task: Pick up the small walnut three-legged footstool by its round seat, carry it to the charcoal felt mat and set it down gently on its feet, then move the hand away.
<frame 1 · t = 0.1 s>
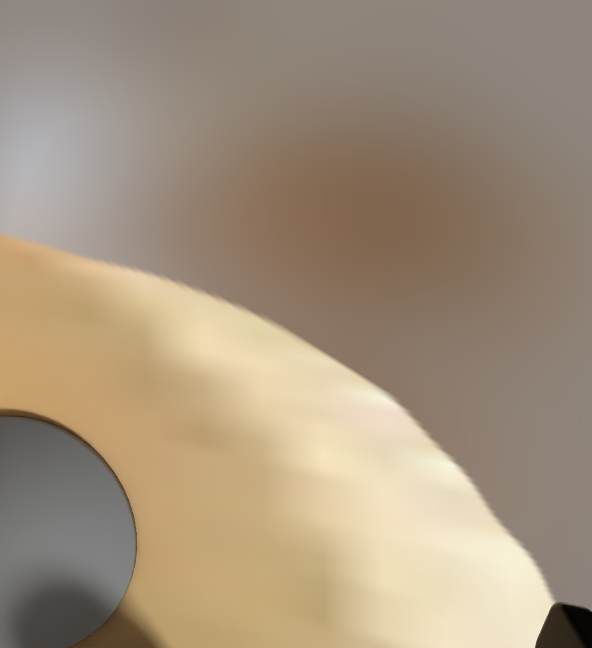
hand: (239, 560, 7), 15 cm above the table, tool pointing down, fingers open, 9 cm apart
felt mat: (18, 535, 25), on the table
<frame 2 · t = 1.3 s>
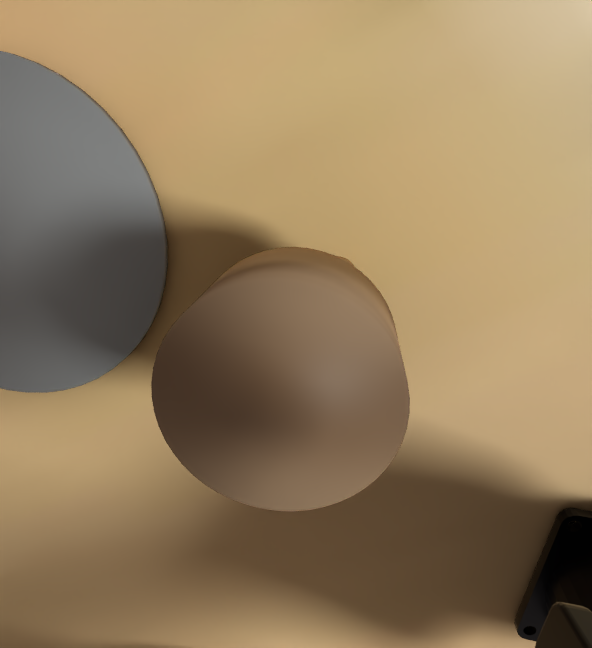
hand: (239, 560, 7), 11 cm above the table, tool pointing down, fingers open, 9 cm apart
felt mat: (4, 237, 18), on the table
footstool: (303, 314, 18), on the table
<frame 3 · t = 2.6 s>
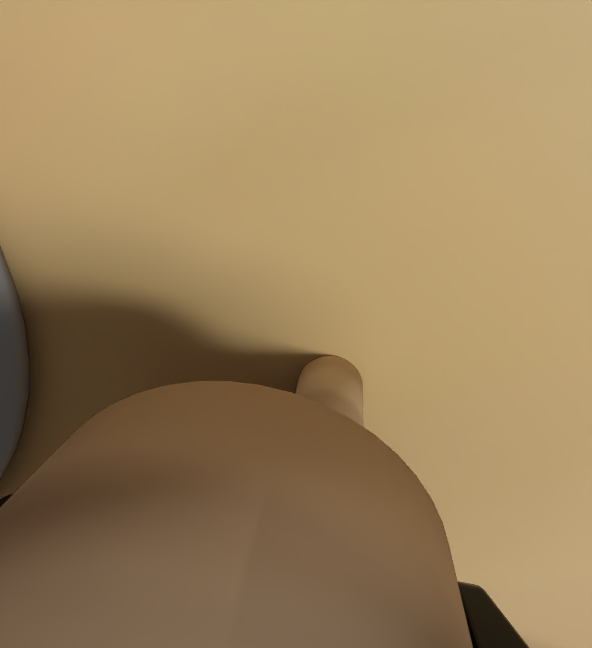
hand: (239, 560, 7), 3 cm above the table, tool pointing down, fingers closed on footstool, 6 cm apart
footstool: (269, 449, 10), on the table, touching gripper
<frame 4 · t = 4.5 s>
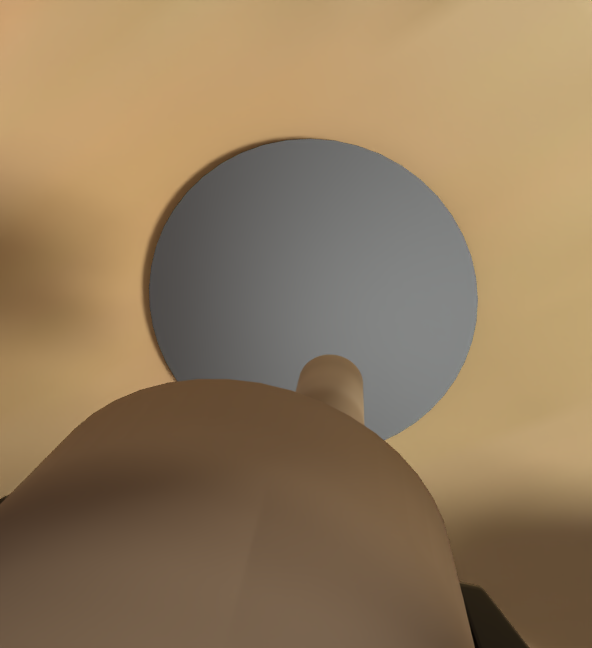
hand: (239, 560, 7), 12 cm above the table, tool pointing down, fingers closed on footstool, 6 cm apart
felt mat: (308, 310, 19), on the table
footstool: (269, 448, 10), point 9 cm above the table, touching gripper
when the fingers open (4 cm above the table, at t = 6.7 s): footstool drops 1 cm, resting on felt mat.
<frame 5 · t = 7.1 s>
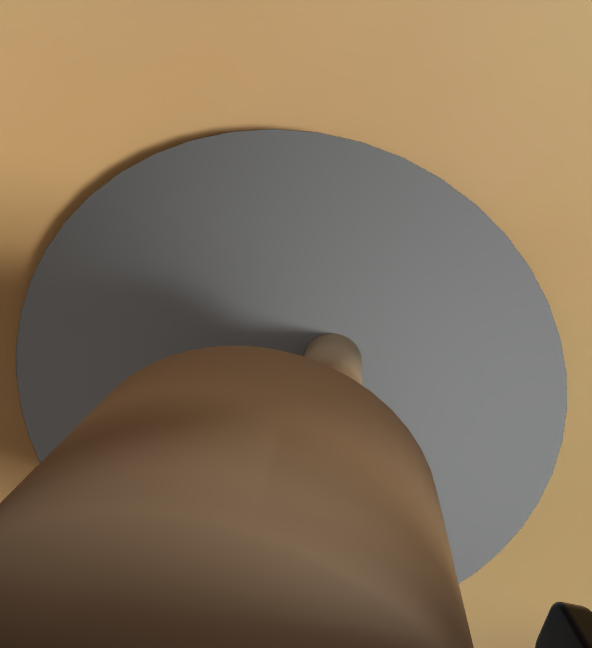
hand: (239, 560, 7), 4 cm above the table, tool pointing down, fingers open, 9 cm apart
felt mat: (278, 412, 11), on the table
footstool: (277, 420, 11), resting on felt mat
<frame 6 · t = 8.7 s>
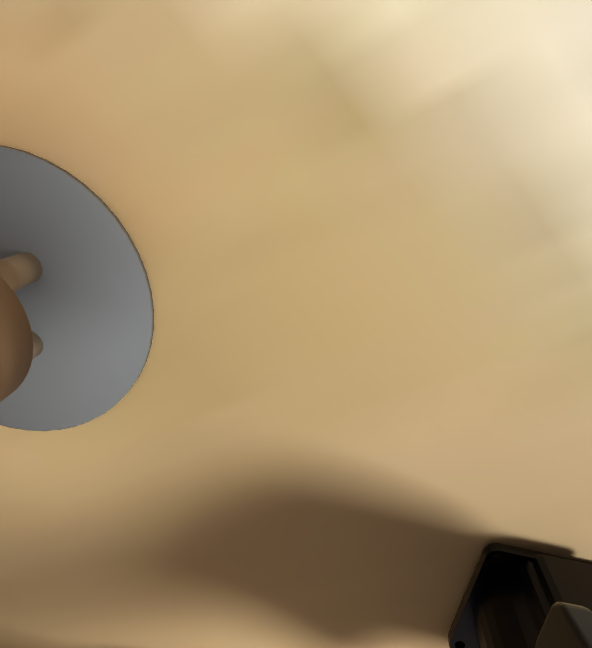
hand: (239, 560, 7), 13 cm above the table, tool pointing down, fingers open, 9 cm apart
felt mat: (11, 299, 20), on the table
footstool: (5, 301, 20), resting on felt mat
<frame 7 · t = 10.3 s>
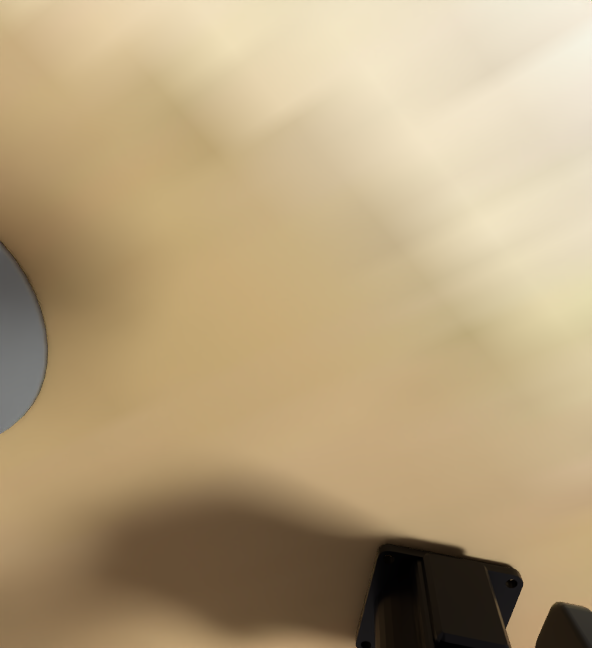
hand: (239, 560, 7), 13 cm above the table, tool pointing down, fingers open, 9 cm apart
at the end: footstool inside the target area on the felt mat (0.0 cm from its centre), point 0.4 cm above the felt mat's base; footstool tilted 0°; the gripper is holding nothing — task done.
